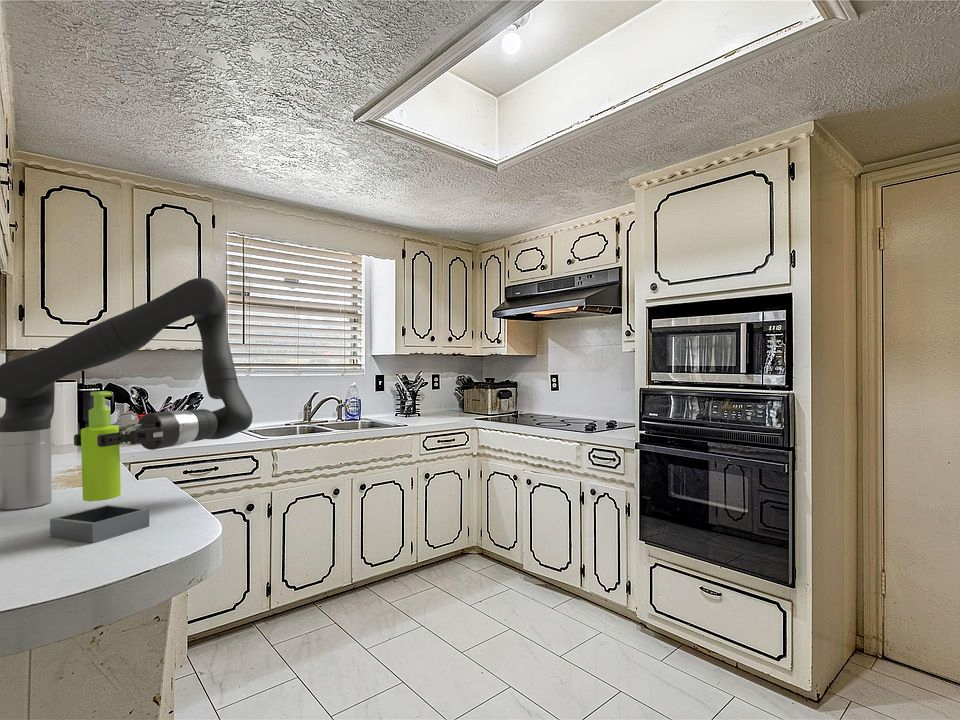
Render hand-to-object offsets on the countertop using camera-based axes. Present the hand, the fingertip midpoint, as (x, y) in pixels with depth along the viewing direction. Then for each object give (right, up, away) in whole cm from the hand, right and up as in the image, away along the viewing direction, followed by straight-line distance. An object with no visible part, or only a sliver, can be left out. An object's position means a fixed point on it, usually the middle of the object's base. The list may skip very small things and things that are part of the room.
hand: (87, 440), depth 100 cm
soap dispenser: (+1, -11, +2) cm, 11 cm away
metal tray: (+1, -17, +2) cm, 17 cm away
